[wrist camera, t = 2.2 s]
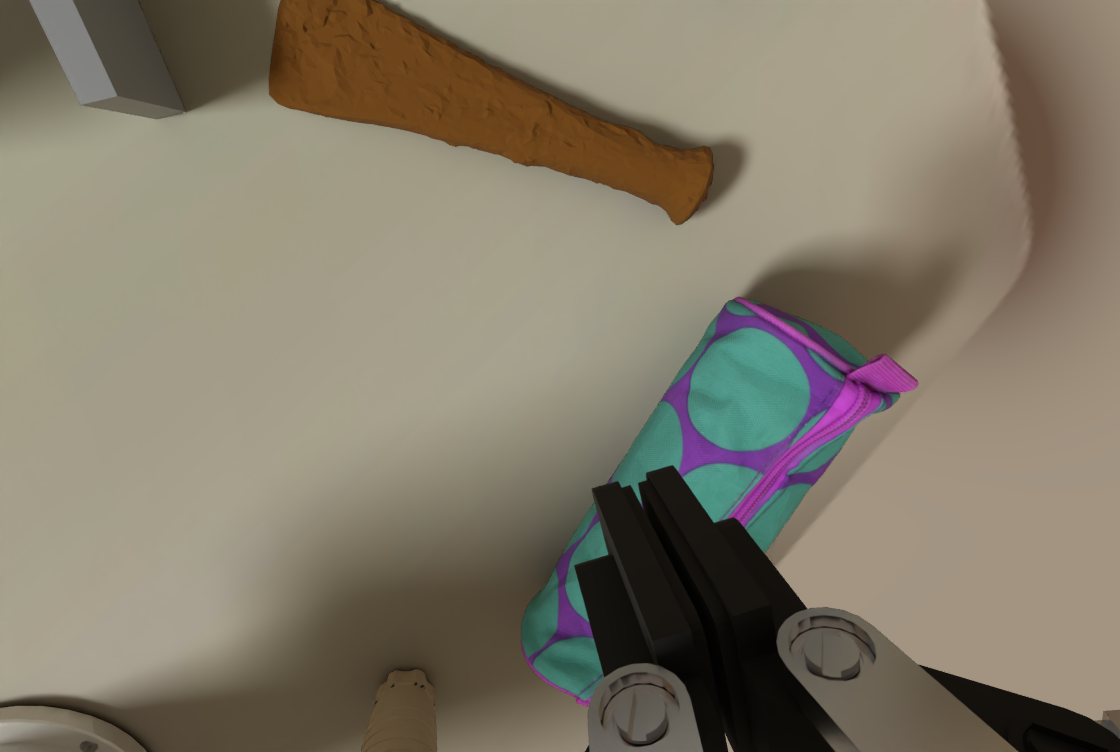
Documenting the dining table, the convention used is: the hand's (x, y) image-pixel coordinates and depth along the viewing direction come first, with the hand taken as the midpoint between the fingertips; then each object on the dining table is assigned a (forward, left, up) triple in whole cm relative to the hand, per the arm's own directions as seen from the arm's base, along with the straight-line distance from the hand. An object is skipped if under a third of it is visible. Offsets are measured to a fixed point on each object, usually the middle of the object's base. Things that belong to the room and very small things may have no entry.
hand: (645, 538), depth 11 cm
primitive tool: (+9, 0, -19) cm, 21 cm away
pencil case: (-10, -5, -19) cm, 22 cm away
